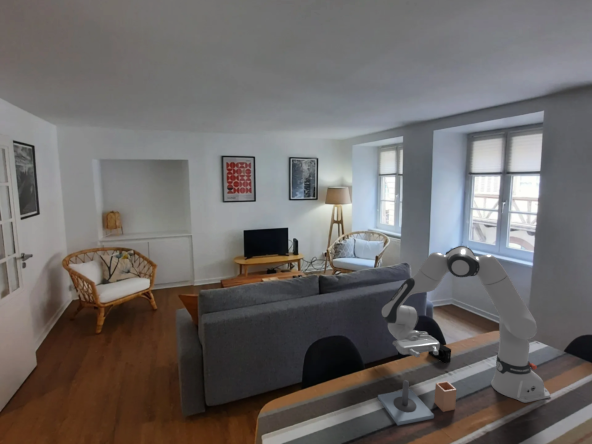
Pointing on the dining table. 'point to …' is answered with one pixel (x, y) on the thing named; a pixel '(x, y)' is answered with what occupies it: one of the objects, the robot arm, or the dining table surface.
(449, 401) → the sleeve
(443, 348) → the digital camera
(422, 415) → the post board
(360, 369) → the dining table surface
